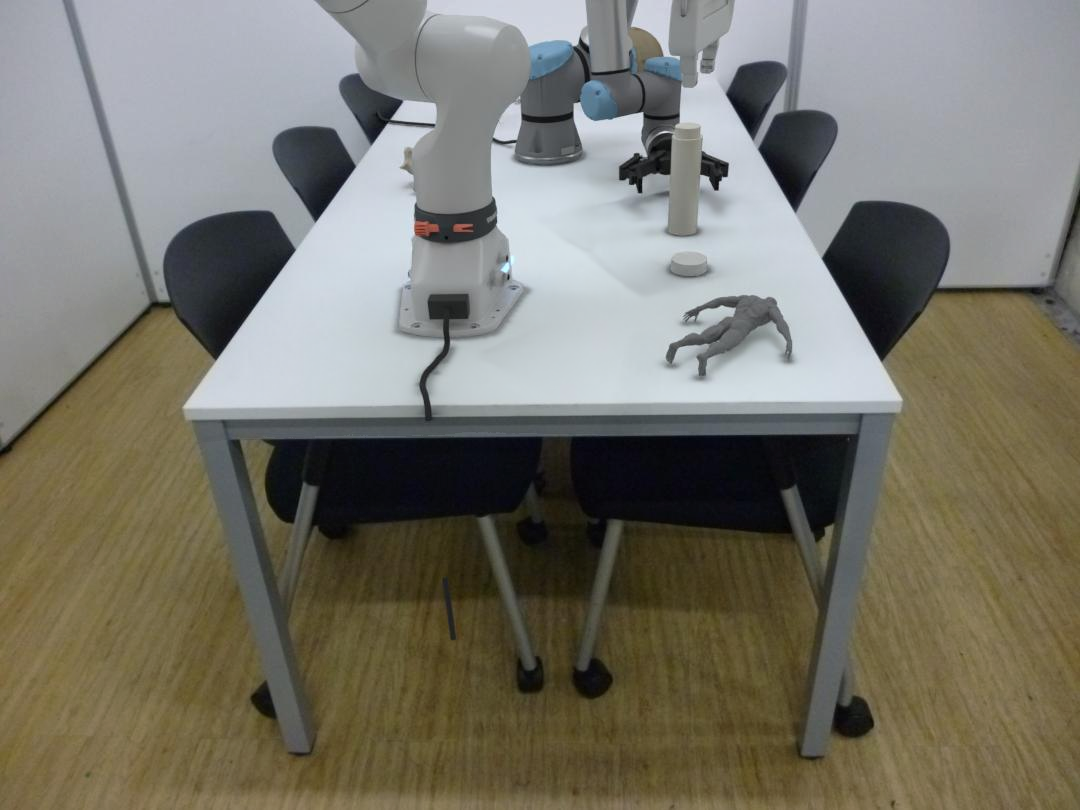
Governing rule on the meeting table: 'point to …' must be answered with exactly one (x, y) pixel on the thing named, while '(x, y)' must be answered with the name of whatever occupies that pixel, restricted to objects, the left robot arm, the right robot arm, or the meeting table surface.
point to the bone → (408, 161)
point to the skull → (644, 47)
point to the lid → (689, 263)
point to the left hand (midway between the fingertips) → (698, 79)
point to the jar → (685, 179)
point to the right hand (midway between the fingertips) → (678, 184)
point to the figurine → (732, 326)
